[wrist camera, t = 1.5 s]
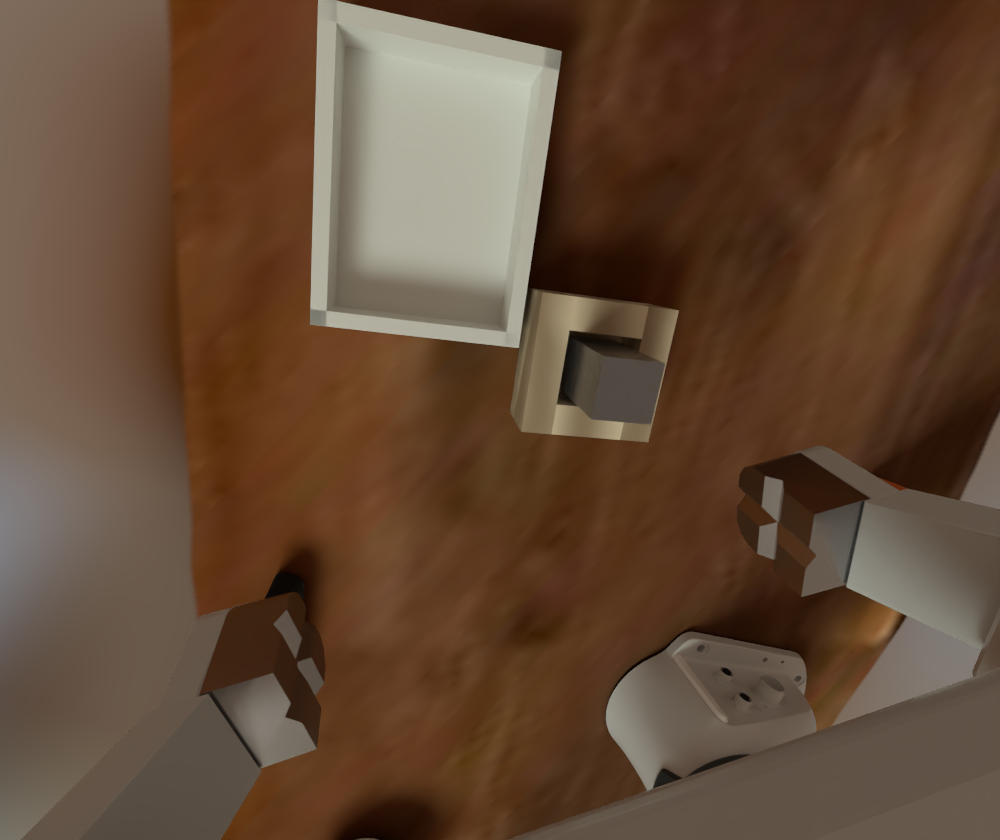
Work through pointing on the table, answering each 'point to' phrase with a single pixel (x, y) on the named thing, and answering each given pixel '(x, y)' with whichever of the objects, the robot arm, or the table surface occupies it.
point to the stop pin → (611, 380)
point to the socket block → (545, 349)
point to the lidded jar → (366, 839)
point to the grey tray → (426, 175)
